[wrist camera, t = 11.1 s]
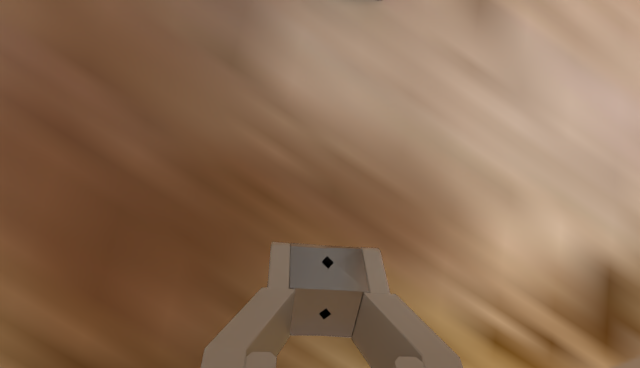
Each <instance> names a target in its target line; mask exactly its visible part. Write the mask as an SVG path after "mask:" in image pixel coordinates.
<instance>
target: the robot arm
mask: <svg viewBox="0 0 640 368" xmlns="http://www.w3.org/2000/svg"><path fill="white" fill-rule="evenodd" d="M290 335H318V336H335V337H351V338H352V340H353V342H354V343H355V345H356V346H357V348H358V349H359V351H360V352H361V353H362V355H363V356H364V358H365V359H366V361H367V362H368V364H369V365H370V367H371V368H463V366H462V363H461V360H460V357H459V356H458V355H457V354H456V353H455V352H454V351H453V350H452V349H451V348H450V347H449V346H448V345H447V344H446V343H445V342H444V341H443V340H442V339H441V338H440V337H439V336H438V335H436V334H435V333H434V332H433V331H432V330H431V329H430V328H429V327H428V326H427V325H426V324H425V323H424V322H423V321H422V320H421V319H420V318H419V317H418V316H417V315H416V314H415V313H414V312H413V311H412V310H411V309H410V308H409V307H408V306H407V305H406V304H405V303H404V302H403V301H402V300H401V299H400V298H399V297H398V296H397V295H396V294H390V290H389V286H388V281H387V277H386V273H385V269H384V264H383V260H382V256H381V251H380V250H379V248H365V247H361V248H359V247H342V246H322V245H310V244H298V243H281V242H272V243H271V250H270V262H269V274H268V286H267V288H261V289H260V290H259V291H258V292H257V293H256V294H255V295H254V296H253V297H252V299H251V300H250V301H249V302H248V303H247V304H246V305H245V306H244V307H243V308H242V309H241V310H240V311H239V312H238V313H237V314H236V316H235V317H234V318H233V319H232V320H231V321H230V322H229V323H228V324H227V325H226V326H225V327H224V328H223V329H222V330H221V331H220V333H219V334H218V335H217V336H216V337H215V338H214V339H213V340H212V341H211V342H210V343H209V344H208V345H207V346H206V347H205V350H204V354H203V359H202V363H201V368H276V357H277V355H278V354H279V352H280V350H281V349H282V347H283V346H284V344H285V343H286V341H287V340H288V338H289V336H290Z"/></svg>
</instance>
